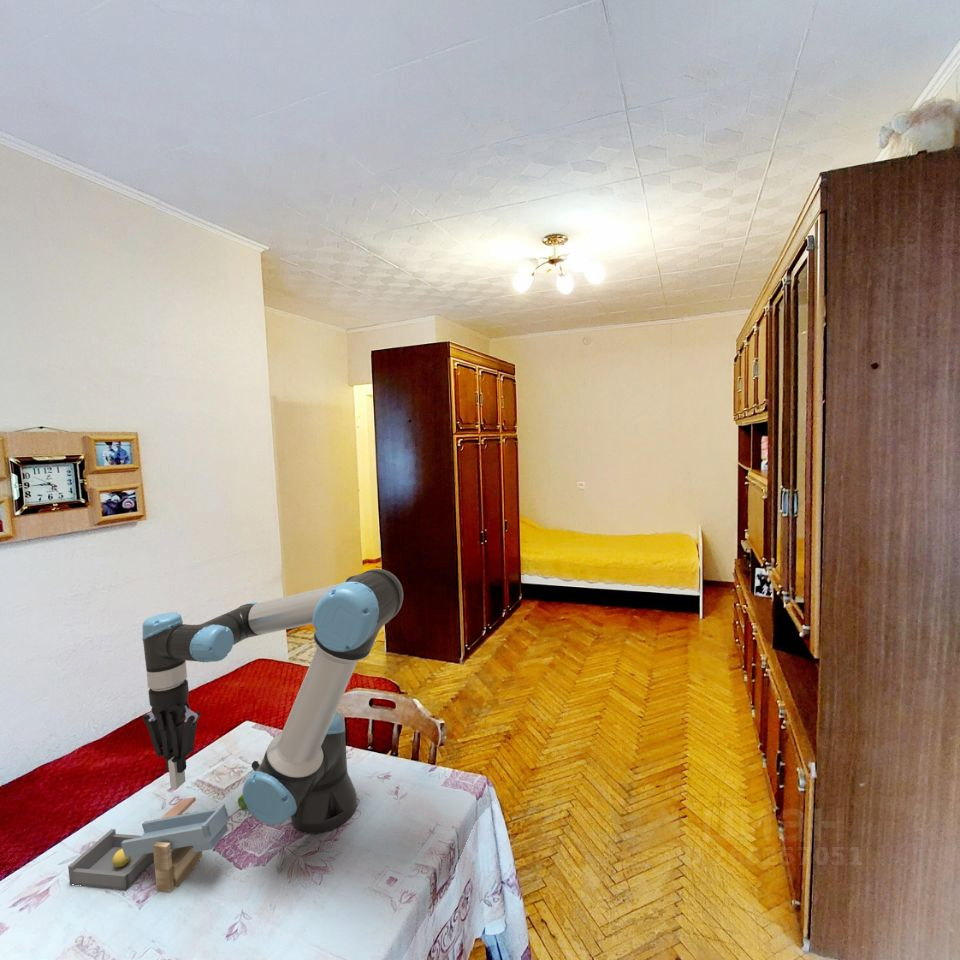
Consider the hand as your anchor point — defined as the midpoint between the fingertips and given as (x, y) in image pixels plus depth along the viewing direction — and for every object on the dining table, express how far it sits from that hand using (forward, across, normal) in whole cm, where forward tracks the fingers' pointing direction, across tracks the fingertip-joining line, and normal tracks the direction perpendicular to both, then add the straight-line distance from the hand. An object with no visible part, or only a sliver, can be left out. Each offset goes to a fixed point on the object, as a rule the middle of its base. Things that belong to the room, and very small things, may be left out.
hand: (178, 784), depth 113 cm
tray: (+12, +7, +9) cm, 17 cm away
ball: (+10, +6, +10) cm, 15 cm away
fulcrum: (+12, -7, +9) cm, 17 cm away
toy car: (+13, -12, -13) cm, 22 cm away
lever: (+6, -8, +5) cm, 11 cm away
